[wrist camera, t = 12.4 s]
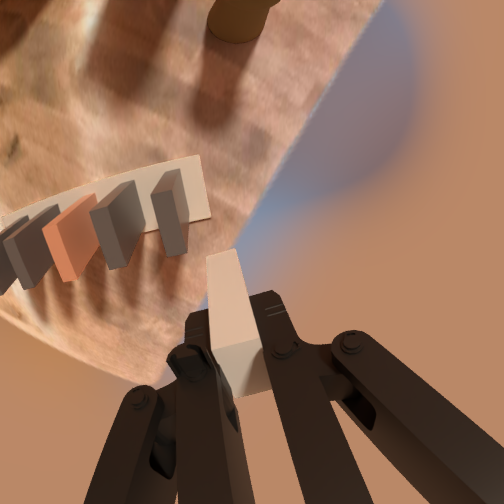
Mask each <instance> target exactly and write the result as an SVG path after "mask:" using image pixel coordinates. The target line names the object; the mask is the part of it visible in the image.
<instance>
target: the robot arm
mask: <svg viewBox="0 0 504 504" xmlns="http://www.w3.org/2000/svg"><path fill="white" fill-rule="evenodd" d="M206 268H207V290H208V307H209V308H208V309H204V310H201V311H197V312H193V313H190V314H189V316H188V318H187V320H186V321H185V340H184V343H183V344H180V345H178V346H177V347H175V348H174V349H173V350H172V351H171V352H170V353H169V354H168V357H167V360H166V362H167V363H168V365H169V366H170V368H171V369H172V371H173V372H174V374H175V376H176V377H177V379H176V380H175V381H174V382H172V383H170V384H169V385H167V386H165V387H163V388H160V389H158V390H155V389H154V388H152V387H151V386H147V385H141V386H137V387H135V388H132V389H131V390H130V391H129V392H128V393H127V394H126V395H125V397H124V399H123V401H122V403H121V405H120V408H119V410H118V413H117V415H116V418H115V420H114V423H113V425H112V427H111V430H110V432H109V435H108V438H107V440H106V443H105V445H104V448H103V451H102V453H101V456H100V458H99V461H98V464H97V466H96V469H95V472H94V475H93V477H92V481H91V483H90V486H89V489H88V492H87V495H86V498H85V501H84V504H175V500H176V495H177V490H178V504H255V500H254V495H253V490H252V485H251V481H250V475H249V471H248V465H247V460H246V455H245V449H244V444H243V439H242V433H241V427H240V422H239V416H238V411H237V408H236V406H235V404H234V402H233V396H232V393H233V395H234V397H235V398H240V397H244V396H248V395H252V394H256V393H259V392H263V391H267V390H270V389H272V390H273V393H274V397H275V400H276V404H277V407H278V411H279V415H280V418H281V422H282V425H283V429H284V432H285V436H286V439H287V443H288V446H289V449H290V453H291V457H292V460H293V463H294V466H295V470H296V474H297V477H298V480H299V484H300V487H301V490H302V494H303V497H304V500H305V504H374V503H373V501H372V498H371V496H370V494H369V491H368V489H367V487H366V484H365V482H364V479H363V477H362V475H361V472H360V470H359V468H358V466H357V463H356V461H355V459H354V456H353V454H352V452H351V449H350V447H349V444H348V442H347V440H346V438H345V435H344V433H343V431H342V428H341V426H340V424H339V422H338V419H337V417H336V415H335V412H334V410H333V408H332V405H331V403H330V401H334V400H335V401H336V402H337V403H338V404H339V405H340V406H341V408H342V409H343V410H344V411H345V412H346V413H347V415H348V416H349V417H350V418H351V419H352V420H353V421H354V422H355V424H356V425H357V426H358V427H359V428H360V429H361V430H362V431H363V433H364V434H365V435H366V436H367V437H368V438H369V439H370V440H371V441H372V443H373V444H374V445H375V446H376V447H377V448H378V449H379V450H380V451H381V452H382V454H383V455H384V456H385V457H386V458H387V459H388V460H389V461H390V462H391V463H392V464H393V465H394V467H395V468H396V469H397V470H398V471H399V472H400V473H401V474H402V475H403V476H404V477H405V478H406V479H407V480H408V481H409V482H410V484H411V485H413V487H414V488H415V489H416V490H417V491H418V492H419V493H420V494H421V495H422V496H423V497H424V498H425V499H426V500H427V501H428V502H429V503H430V504H504V448H503V447H502V446H501V445H500V444H499V443H498V442H496V441H495V440H494V439H493V438H492V437H491V436H489V435H488V434H487V433H486V432H485V431H483V430H482V429H481V428H480V427H479V426H478V425H476V424H475V423H474V422H473V421H472V420H471V419H469V418H468V417H467V416H466V415H465V414H463V413H462V412H461V411H460V410H459V409H458V408H456V407H455V406H454V405H453V404H452V403H450V402H449V401H448V400H447V399H446V398H444V397H443V396H442V395H441V394H440V393H438V392H437V391H436V390H435V389H433V388H432V387H431V386H430V385H429V384H428V383H426V382H425V381H424V380H423V379H422V378H420V377H419V376H418V375H417V374H416V373H414V372H413V371H412V370H411V369H410V368H408V367H407V366H406V365H405V364H404V363H402V362H401V361H400V360H399V359H397V358H396V357H395V356H394V355H393V354H391V353H390V352H389V351H388V350H387V349H385V348H384V347H383V346H382V345H380V344H379V343H378V342H377V341H376V340H374V339H373V338H372V337H371V336H369V335H368V334H366V333H364V332H362V331H357V330H351V331H345V332H343V333H340V334H339V335H337V336H336V337H335V338H334V339H333V342H332V344H322V345H314V344H309V343H306V342H304V341H302V340H301V339H300V338H299V337H298V335H297V333H296V331H295V329H294V327H293V324H292V322H291V320H290V317H289V315H288V313H287V311H286V309H285V306H284V304H283V302H282V300H281V297H280V295H278V294H277V293H276V292H274V291H273V290H270V291H267V292H263V293H260V294H256V295H253V296H249V295H248V291H247V288H246V284H245V281H244V277H243V274H242V270H241V267H240V263H239V260H238V256H237V253H236V249H235V248H234V249H231V250H227V251H223V252H220V253H216V254H213V255H209V256H206Z"/></svg>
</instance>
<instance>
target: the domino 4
mask: <svg viewBox="0 0 504 504" xmlns="http://www.w3.org/2000/svg"><path fill="white" fill-rule="evenodd" d="M89 214H90V217H91V220H92V223H93V226H94V229H95V232H96V235H97V238H98V241H99V244H100V247H101V249H102V252H103V255H104V257H105V260H106V263H107V265H108V268H109V270H112V269H117V268H121V267H126V266H127V265H128V263H129V260H130V258H131V255H132V253H133V251H134V248H135V246H136V244H137V242H138V239H139V237H140V235H141V233H142V230H143V228H144V226H145V224H146V222H145V218H144V214H143V211H142V207H141V203H140V200H139V196H138V192H137V188H136V184H135V180H131V181H127V182H124V183H120V184H119V185H118V186H117V187H116V188H115V189H113V190H112V191H111V192H110V193H109V194H108V195H107V196H105V197H104V198H103V199H102V200H101V201H100V202H99V203H98V204H97V205H96V206H94V207H93V208H92V209H91V210H90V211H89Z"/></svg>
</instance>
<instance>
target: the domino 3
mask: <svg viewBox="0 0 504 504" xmlns="http://www.w3.org/2000/svg"><path fill="white" fill-rule="evenodd" d="M97 204H98V202H97V198H96V194H95V193H92V194H89V195H85V196H83V197H81V198H80V199H79V200H77V201H76V202H75V203H73V204H72V205H71V206H69V207H68V208H67V209H66V210H64V211H63V212H62V213H61V214H59V215H58V216H57V217H56V218H54V219H53V220H52V221H51V222H50V223H48V224H47V225H46V226H45V227H44V228H42V231H43V234H44V236H45V239H46V242H47V244H48V247H49V250H50V252H51V255H52V257H53V260H54V262H55V264H56V267H57V269H58V271H59V274H60V276H61V278H62V280H63V282H68V281H72V280H77V279H78V278H79V276H80V275H81V273H82V272H83V270H84V268H85V267H86V265H87V264H88V262H89V261H90V259H91V258H92V256H93V255H94V253H95V252H96V250H97V249H98V247H99V246H100V244H99V241H98V238H97V235H96V232H95V229H94V226H93V223H92V220H91V217H90V214H89V211H90V210H91V209H92V208H93V207H94V206H96V205H97Z"/></svg>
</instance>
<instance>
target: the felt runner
mask: <svg viewBox="0 0 504 504" xmlns="http://www.w3.org/2000/svg"><path fill="white" fill-rule="evenodd" d="M179 168H180V171H181V176H182V181H183V185H184V190H185V195H186V199H187V204H188V208H189V213H190V215H189V222H192V221H196V220H201V219H206V218H210V217H211V213H210V208H209V203H208V198H207V193H206V188H205V183H204V178H203V173H202V167H201V162H200V157H199V154H198V155H193V156H188V157H184V158H179V159H175V160H170V161H166V162H162V163H158V164H154V165H150V166H146V167H142V168H139V169H135V170H131V171H128V172H124V173H121V174H117V175H114V176H110V177H107V178H104V179H101V180H98V181H94V182H91V183H88V184H85V185H82V186H79V187H76V188H73V189H71V190H68V191H65V192H62V193H59V194H57V195H54V196H51V197H49V198H46V199H44V200H41V201H38V202H36V203H33V204H31V205H29V206H26V207H24V208H21V209H19V210H17V211H14V212H12V213H10V214H8V215H5V216H3V217H2V220H3V223H4V226H5V228H6V227H8V226H9V225H11V224H12V223H13V222H15V221H16V220H17V219H19V218H21V217H23V216H26V215H28V217H29V220H30V219H32V218H33V217H34V216H36V215H37V214H39V213H40V212H41V211H43V210H44V209H46V208H47V207H49V206H52V205H55V204H57V203H58V206H59V209H60V212H61V213H62V212H63V211H64V210H66V209H67V208H68V207H69V206H71V205H72V204H73V203H75V202H76V201H77V200H79V199H80V198H81V197H83V196H85V195H89V194H92V193H95V194H96V198H97V202H98V203H99V202H100V201H101V200H102V199H103V198H104V197H105V196H107V195H108V194H109V193H110V192H111V191H112V190H113V189H115V188H116V187H117V186H118V185H119V184H120V183H124V182H127V181H131V180H135V184H136V188H137V192H138V196H139V200H140V203H141V207H142V211H143V214H144V218H145V222H146V224H145V226H144V228H143V230H142V233H143V232H147V231H152V230H156V229H159V227H158V223H157V220H156V216H155V212H154V208H153V204H152V200H151V196H150V194H151V193H152V191H153V189H154V188H155V186H156V185H157V183H158V182H159V180H160V179H161V177H162V176H163V174H164V173H165V172H166V171H170V170H174V169H179Z"/></svg>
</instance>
